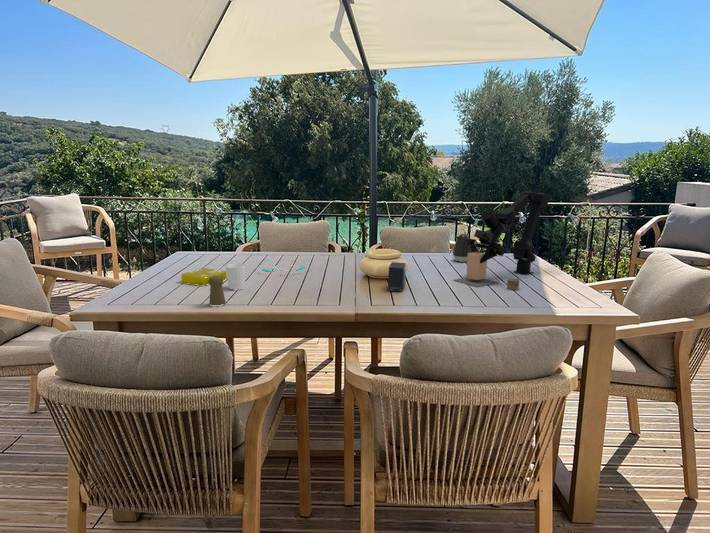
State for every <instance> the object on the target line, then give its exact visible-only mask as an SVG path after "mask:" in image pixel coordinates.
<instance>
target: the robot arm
mask: <svg viewBox="0 0 710 533" xmlns="http://www.w3.org/2000/svg"><path fill="white" fill-rule="evenodd" d="M549 200H550V197H549V196H548V194H547V193H539V192H534V191H527V190H526V191H523V192H522V193H521V195H520V196H519V197H518V198H517V199H516V200H514V202H512V204H510V206H508V207H507V208H504V209H501V210H500V211H499V212H497V213H496V211H495V210H494V209H493V208H489V209H488V210H486V211H484V212H483V213H482V214H480V219H481V221H482V222H483V223H484V225H485V226H486V228H488V229H487V230H483V229H481V230H480V229H475V231H474V232H475V233H474V235H473V236H474V237H475V238H477V239H478V241H479V242H478V241H477V240H476V239H475V238H469V239H468V240H467V241H466V243H467V245H468V246H469V248H470V249H471V253H473V252H480V251H479V250H480V249H483V250H485V252H484V253H485V254H484V255H483V257H482V258H481V260H480V263H483V262H485V261H487V262H488V260H491V259H492V258H495V257H498V256H500V257H503V256H504V255H505V253H506V250H505V248H504V246H503V245H502V244H501V243H499V242H500V237H501V236H502V235H503V234H508V233H507V232H508V231H507V227H505V226H512V224H513V223H514V222H515V220H516V218H517V215H518V214H519V213H520V212H521V211H522V210H523V209H524V208H525V207H526V206H527V205H528V207H529V212H528V215H527V218H526V221H525V224H524V227H523V230H522V233H521V236H520V239H519V240H515V242H514V245H513V247H512V255H513V259H514V260H516V270H514V271H513V273H515V274H516V273H517V274H522V275H528V274H529V275H530V274H533V273H534V271H531V268H532V267H531V265H532V263H534V262H535V261H536V255H535V253H534V252H533V249H534V247H533V242H532V240H533V237H534V234H535V231H536V227H537V225H538V222H539V220H540V216H541V214H542V212H543V211H544V210H545V209H546V208H547V206H548V205H549V202H550V201H549Z"/></svg>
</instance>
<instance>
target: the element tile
mask: <svg viewBox="0 0 710 533" xmlns="http://www.w3.org/2000/svg"><path fill="white" fill-rule="evenodd" d="M180 276H181V277H180V278H181V283H182V282H183V283H182V284H184V283H190V284H189V285H191V284H198V285H207V284H209V278H210V277H212V276H221V277H222V278H223V280H225V279H227V271H226V270H223V269H214V268H207V267H205V268H204V267H203V268H199V269H195V270H191V271H188V272H183V273H181V274H180ZM225 281H226V280H225Z"/></svg>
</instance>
